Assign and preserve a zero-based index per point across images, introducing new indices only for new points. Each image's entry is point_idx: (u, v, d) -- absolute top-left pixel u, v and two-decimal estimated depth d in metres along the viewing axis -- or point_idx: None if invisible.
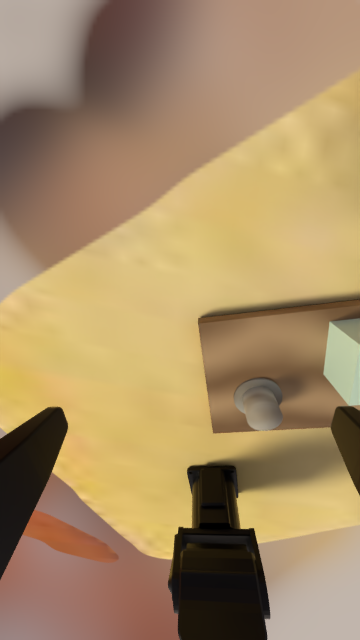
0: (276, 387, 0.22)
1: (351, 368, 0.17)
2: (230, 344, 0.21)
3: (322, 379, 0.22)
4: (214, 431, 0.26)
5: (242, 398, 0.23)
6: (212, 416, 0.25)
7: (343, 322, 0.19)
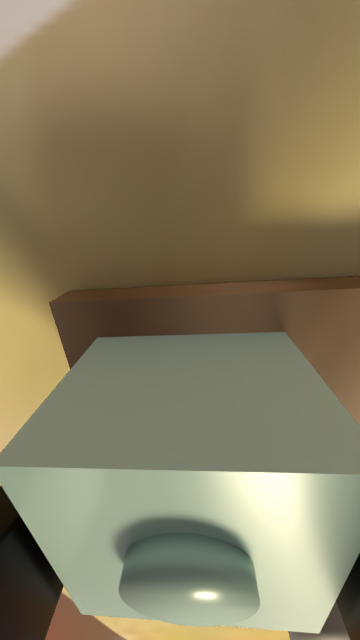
0: None
1: None
2: None
3: None
4: None
5: None
6: None
7: None
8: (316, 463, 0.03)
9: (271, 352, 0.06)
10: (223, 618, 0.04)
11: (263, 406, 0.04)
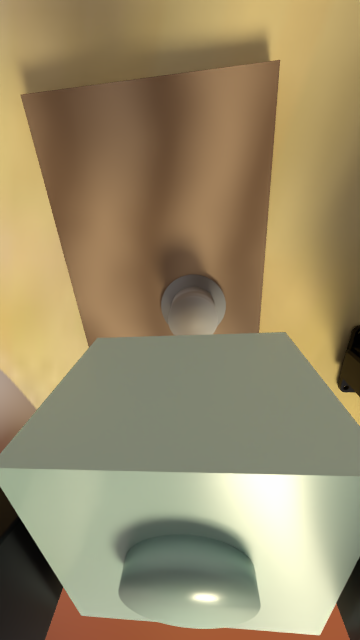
0: (173, 284, 0.16)
1: None
2: (115, 335, 0.19)
3: (164, 217, 0.15)
4: None
5: None
6: None
7: None
8: (317, 465, 0.03)
9: (271, 353, 0.06)
10: (223, 620, 0.04)
11: (263, 407, 0.04)
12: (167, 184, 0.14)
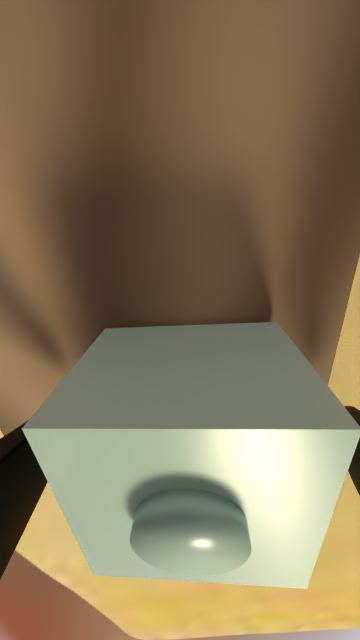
0: None
1: None
2: None
3: (125, 213, 0.06)
4: None
5: None
6: None
7: None
8: (296, 422, 0.04)
9: (263, 339, 0.06)
10: (220, 566, 0.05)
11: (254, 381, 0.05)
12: (128, 131, 0.06)
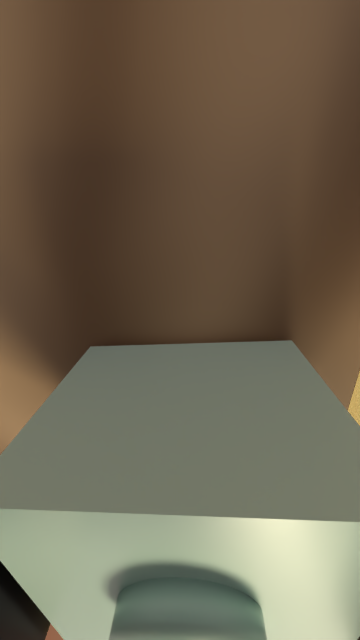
0: None
1: None
2: None
3: (111, 212, 0.05)
4: None
5: None
6: None
7: None
8: (337, 506, 0.03)
9: (278, 364, 0.05)
10: None
11: (272, 431, 0.04)
12: (112, 111, 0.05)
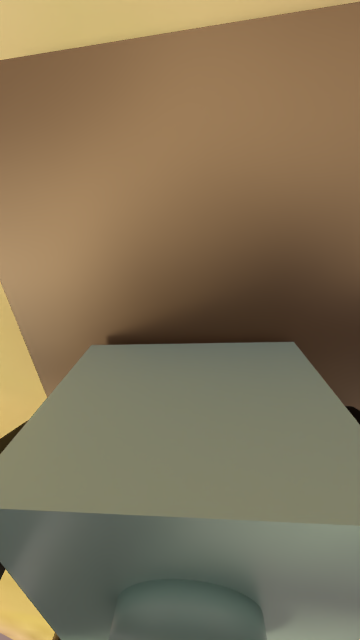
0: None
1: None
2: (77, 201, 0.05)
3: None
4: None
5: None
6: None
7: None
8: (342, 510, 0.03)
9: (280, 366, 0.05)
10: None
11: (275, 432, 0.04)
12: None
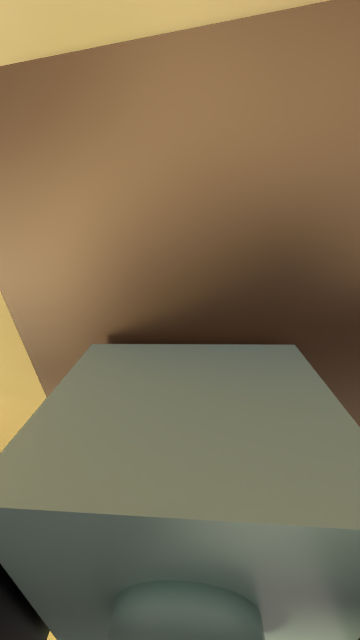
0: None
1: None
2: (72, 205, 0.05)
3: None
4: None
5: None
6: None
7: None
8: None
9: None
10: None
11: None
12: None
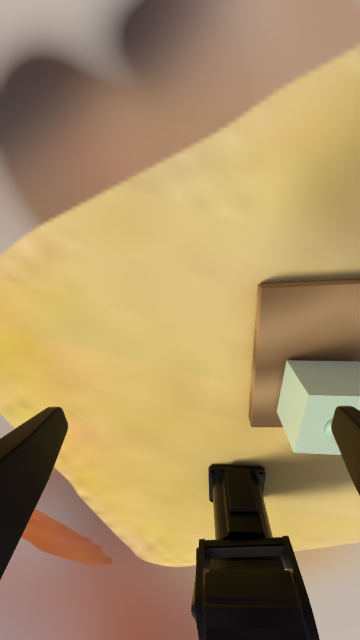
0: None
1: None
2: (296, 318, 0.17)
3: None
4: (253, 424, 0.22)
5: None
6: (254, 406, 0.21)
7: None
8: (305, 403, 0.15)
9: (290, 375, 0.18)
10: None
11: (297, 398, 0.16)
12: None
